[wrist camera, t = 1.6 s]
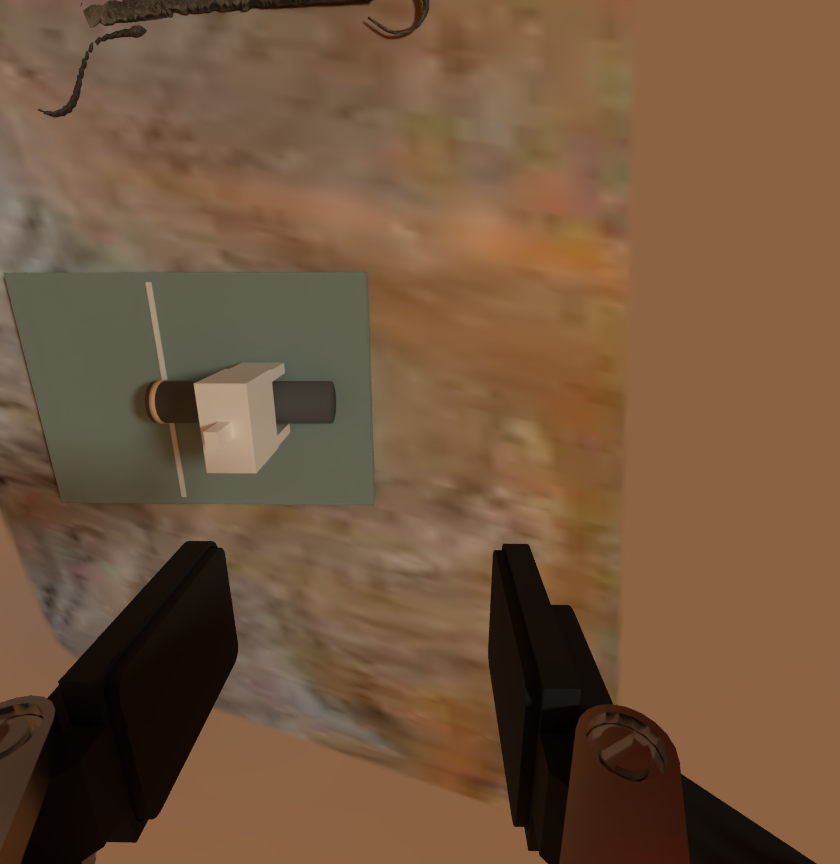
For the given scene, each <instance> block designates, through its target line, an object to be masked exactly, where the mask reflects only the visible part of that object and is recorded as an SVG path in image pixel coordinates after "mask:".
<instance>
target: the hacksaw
mask: <svg viewBox="0 0 840 864" xmlns="http://www.w3.org/2000/svg"><path fill="white" fill-rule="evenodd" d="M357 1H368V0H123V2H118V1H108V2H107V3H105V4H104V5H103V6H100V5H98V6H97V5H91V6H89V7H88V8H86V9H84V10H83V13H84V15H85V17H86V20H87V22H88V24H89V26H90V28H91V27H95V26H96V25H97V24H99V23H101V24H103V25H105V26H109V25H114V24H115V23H128V22H137V21H149V20H156V19H162V18H165V17H166V18H167V17H168V15H169V16H170V18H172V17H173V12H176V13H180V14H182V15H188V14H189V13H192V14H202V13H210V12H212V11H214V10H220V11H221V12H228V11H235V10H244V12H246V11H249V10H250V9H251V8H253V7H256V8H266V9H267V8H273V7H278V8H283V7H289V6H301V5H313V4H332V3H346V2H357ZM372 1H373V0H372ZM422 1H423V9H422V14H421V17H420V18H419V20H418V21H417V22H416V24H415V25H413V26H412V27H410V28H407V29H404V30H397V31H394V30H389V29H387V28H386V27H384V26H382V25H381V24H379V23H378V22H376V21H374V20H373V19H371V18H370V17H368V19H369V20H371V21H372V22H373V23H374V24H376V25H377V26H378V27H380V28H381V29H383V30H384V31H386V32H388V33H391V34H394V35H396V34H406V33H409V32H411V31H413V30H415V29H417V28H418V27H419V26H420V25H421V23H422V22H423V21H424V19H425V18H426V16H427V13H428V10H429V0H422ZM81 5H82V3H81ZM146 31H147V30H146V29H145V28H143V27H141V26H132V27H131V28H130V29H123V30H120V31H115V32H113V33H111V34H106V35H104V36H103V37H102V38H101V37H98V38H97V40H96V41H95V43H96V44H97V45H98V44H99V43H100V42H101V41H103V42H104V41H106V40H108V39H114V38H120V37H135V38H138V37H140V36H142V35H144V34H145V33H146ZM92 50H93V43H91V44H90V46H89V50H88V51H89V52H90V53H92ZM88 51H87V52H86V55H85V58H84V59H82V65H81V67H80V69H79V75H77V81H76V85H75V88H74V92H73V95H72V96H71V98H70V101H69V102H68V104H67V105H66V106H64V107H63V108H62V109H59V110H57V111H54V112H52V111H42V110H41V109H38V110H39V111H41V112H44V114H46V115H49V116H52V117H60V116H65V115H66V114H67V113H71V112H72V109H73V108H74V107H75V106H76V104H77V101H78V99H79V96H80V88H81V85H82V79H83V77H84V69H85V68H86V65H87V62H86V60H87V61H88V59H89V53H88Z"/></svg>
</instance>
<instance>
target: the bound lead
mask: <svg viewBox="0 0 840 864" xmlns="http://www.w3.org/2000/svg"><path fill="white" fill-rule="evenodd" d="M196 382H198V381H168V380H157V381H153V382H151V383H150V384H149V386H148V387H147V390H146V393H145V408H146V412H147V415H148V417H149V418H150V419H151V421H153V422H155V423H159V424H169V423H199V416H198V410H197V403H196V396H195V390H194V383H196ZM272 386H273V396H274V406H275V417H276V423H289V424H333V422H334V420H335V414H336V392H335V386H334V383H333V381H273V382H272Z"/></svg>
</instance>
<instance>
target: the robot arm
mask: <svg viewBox="0 0 840 864" xmlns="http://www.w3.org/2000/svg"><path fill="white" fill-rule="evenodd" d="M237 654H238V641H237V634H236V627H235V620H234V613H233V606H232V599H231V593H230V586H229V579H228V572H227V565H226V558H225V552H224V550H223V549H222V548H217V545H216V543H215V542H213V541H187V542H185V543H184V544H183V545H182V546H181V547H180V548H179V550H178V551H177V552H176V553H175V554H174V555H173V556H172V557H171V558H170V559H169V561H168V562H167V563H166V564H165V565H164V566H163V567H162V568H161V569H160V570H159V572H158V573H157V574H156V575H155V576H154V577H153V578H152V579H151V580H150V581H149V582H148V584H147V585H146V586H145V587H144V588H143V589H142V590H141V591H140V592H139V593H138V595H137V596H136V597H135V598H134V599H133V600H132V601H131V602H130V603H129V604H128V606H127V607H126V608H125V609H124V610H123V611H122V612H121V613H120V614H119V615H118V617H117V618H116V619H115V620H114V621H113V622H112V623H111V624H110V625H109V626H108V627H107V629H106V630H105V631H104V632H103V633H102V634H101V635H100V636H99V637H98V638H97V640H96V641H95V642H94V643H93V644H92V645H91V646H90V647H89V648H88V649H87V651H86V652H85V653H84V654H83V655H82V656H81V657H80V658H79V659H78V660H77V662H76V663H75V664H74V665H73V666H72V667H71V668H70V669H69V670H68V671H67V673H66V674H65V675H64V676H63V677H62V678H61V679H60V680H59V681H58V683H59V686H58V687H57V688H56V689H55V690H54V691H53V692H52V694H51V695H50V696H49V697H48V698H45V697H41V696H32V695H31V696H24V697H17V698H14V699H11V700H7V701H5V702H1V703H0V864H95V861H96V852H97V851H98V850H100V849H101V848H103V847H104V845H105V844H106V842H133V843H136V842H137V840H138V839H139V836H140V835H141V833H142V831H143V829H144V827H145V825H146V823H147V821H148V819H154V818H156V817H157V816H158V814H159V813H160V811H161V809H162V808H163V806H164V803H165V801H166V800H167V797H168V795H169V794H170V791H171V790H172V787H173V785H174V783H175V782H176V779H177V777H178V776H179V773H180V771H181V770H182V768H183V766H184V763H185V762H186V760H187V758H188V756H189V754H190V752H191V750H192V748H193V746H194V743H195V742H196V740H197V738H198V736H199V734H200V731H201V730H202V728H203V726H204V724H205V722H206V720H207V718H208V716H209V714H210V712H211V710H212V708H213V706H214V704H215V702H216V700H217V698H218V696H219V694H220V692H221V690H222V688H223V686H224V684H225V682H226V680H227V678H228V676H229V674H230V672H231V670H232V668H233V666H234V664H235V661H236V658H237ZM488 659H489V669H490V675H491V682H492V689H493V695H494V702H495V709H496V715H497V722H498V729H499V735H500V742H501V749H502V755H503V762H504V769H505V775H506V782H507V789H508V795H509V802H510V809H511V815H512V821H513V825H514V826H515V827H524V828H525V833H526V839H527V845H528V850H529V851H539V855H540V856H541V857H542V858H543V859H544V860H545V861H546V862H547V863H548V864H816V863H815V862H813V861H811V860H810V859H808V858H807V857H806V856H804V855H802V854H801V853H800V852H798V851H797V850H795V849H794V848H792V847H791V846H789V845H788V844H786V843H785V842H783V841H782V840H780V839H778V838H777V837H775V836H774V835H773V834H771V833H770V832H768V831H767V830H765V829H764V828H762V827H761V826H759V825H758V824H756V823H754V822H753V821H751V820H750V819H748V818H747V817H745V816H744V815H742V814H741V813H739V812H738V811H736V810H735V809H733V808H732V807H730V806H729V805H727V804H726V803H724V802H723V801H721V800H720V799H718V798H716V797H715V796H714V795H712V794H711V793H709V792H708V791H706V790H704V789H703V788H702V787H700V786H699V785H697V784H695V783H694V782H693V781H691V780H690V779H688V778H686V777H685V776H683V775H682V774H681V769H680V761H679V758H678V754H677V751H676V748H675V746H674V744H673V743H672V741H671V739H670V738H669V736H668V735H667V734H666V732H664V731H663V729H661V727H660V726H658V724H656V723H655V722H654V721H653V720H651V719H650V718H648V717H647V716H645V715H644V714H642V713H640V712H638V711H635V710H633V709H630V708H628V707H625V706H619V705H614V704H613V703H612V701H611V698H610V696H609V694H608V691H607V689H606V686H605V684H604V682H603V679H602V677H601V675H600V672H599V670H598V668H597V665H596V663H595V661H594V658H593V656H592V653H591V651H590V649H589V646H588V644H587V642H586V639H585V637H584V635H583V632H582V630H581V628H580V625H579V623H578V620H577V618H576V616H575V613H574V611H573V609H572V608H571V607H570V606H569V605H551V604H550V601H549V599H548V596H547V593H546V590H545V588H544V585H543V582H542V579H541V577H540V574H539V571H538V568H537V566H536V563H535V560H534V557H533V555H532V552H531V549H530V546H529V545H528V544H503V546H502V550H494V552H493V565H492V584H491V604H490V624H489V644H488Z"/></svg>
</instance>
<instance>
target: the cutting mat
mask: <svg viewBox="0 0 840 864" xmlns="http://www.w3.org/2000/svg"><path fill="white" fill-rule="evenodd" d="M4 277H5V281H6V285H7V289H8V293H9V297H10V300H11V304H12V308H13V312H14V316H15V320H16V324H17V328H18V332H19V336H20V340H21V344H22V348H23V352H24V356H25V359H26V363H27V367H28V371H29V375H30V379H31V383H32V387H33V391H34V395H35V399H36V403H37V407H38V411H39V415H40V418H41V422H42V426H43V430H44V434H45V438H46V442H47V446H48V450H49V454H50V458H51V462H52V466H53V470H54V474H55V477H56V481H57V485H58V489H59V493H60V497H61V501H62V503H150V504H295V505H374V502H375V484H374V455H373V426H372V396H371V367H370V338H369V308H368V279H367V272H173V273H4ZM240 363H284V368H285V373H284V374H283V375H281V376H280V377H278V378H277V379H276V380H274V381H333V383H334V386H335V392H336V414H335V420H334V422H333V424H290V433H289V435H288V436H287V437H286V438H285V439H284V440H283V441H282V443H281V444H280V445H279V446H278V447H279V448H278V449H277V450H276V451H275V453H274V454H273V455H272V456H271V457H270V458H269V459H268V461H267V462H266V463H265V464H264V465H263V466H262V468H261V469H260V470H259V471H258V472H257V473H207V470H206V463H205V457H204V450H203V443H202V437H201V430H200V423H169V424H159V423H155V422H153V421H151V419H150V418H149V417H148V415H147V412H146V408H145V393H146V390H147V387H148V386H149V384H150V383H151V382H153V381H157V380H168V381H200V380H202V379H204V378H206V377H209V376H211V375H213V374H215V373H217V372H219V371H221V370H224V369H230V368H232V367H234V366H236V365H238V364H240Z"/></svg>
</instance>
